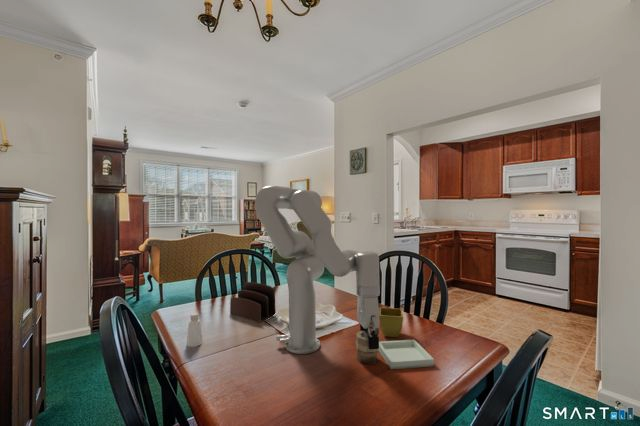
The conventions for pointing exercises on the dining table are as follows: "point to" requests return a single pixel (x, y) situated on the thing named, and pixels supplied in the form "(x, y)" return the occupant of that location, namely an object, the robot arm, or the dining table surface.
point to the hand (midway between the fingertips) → (369, 341)
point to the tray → (404, 354)
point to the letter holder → (254, 302)
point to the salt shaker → (194, 331)
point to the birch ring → (363, 342)
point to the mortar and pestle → (367, 354)
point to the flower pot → (391, 321)
